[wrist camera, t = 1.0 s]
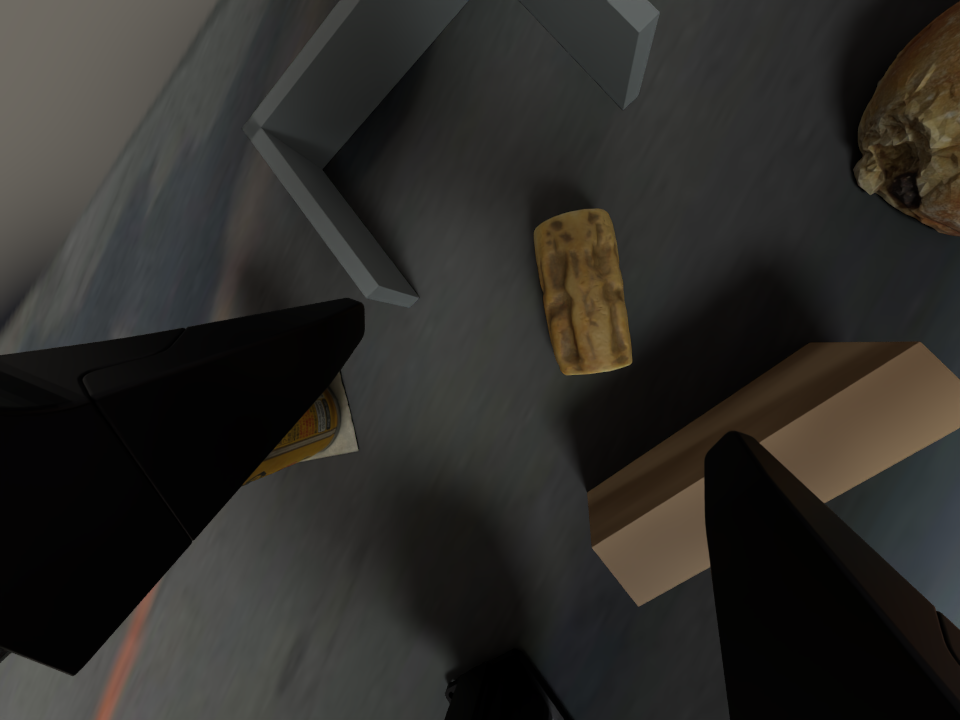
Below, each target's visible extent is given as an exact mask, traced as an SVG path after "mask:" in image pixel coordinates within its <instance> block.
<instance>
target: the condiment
mask: <svg viewBox="0 0 960 720" xmlns="http://www.w3.org/2000/svg"><path fill="white" fill-rule="evenodd" d="M355 451H358V447H357V442H356V437H355V432H354V427H353V423H352V421H351V414H350V410H349V406H348V401H347V398H346V395H345V390H344V388H343V385H342V382H341V375H340V372H339V373H338V375H337V376H336V377H335V379H334V380H333V381H332V383H331V384H330V385H329V386H328V387H327V389H326V390H325V391H324V392H323V393H322V394H321V396H320V397H319V398H318V399H317V400H316V401H315V402H314V404H313V405H312V406H311V407H310V408H309V409H308V410H307V412H306V413H305V414H304V415H303V416H302V417H301V418H300V420H299V421H298V422H297V423H296V424H295V425H294V426H293V428H292V429H291V430H290V431H289V432H288V433H287V434H286V436H285V437H284V438H283V439H282V440H281V441H280V442H279V444H278V445H277V446H276V447H275V448H274V449H273V451H272V452H271V453H270V454H269V455H268V456H267V457H266V459H265V460H264V461H263V462H262V463H261V464H260V465H259V467H258V468H257V469H256V470H255V471H254V472H253V473H252V475H251V476H250V477H249V478H248V479H247V480H246V481H245V483H244V484H243V485H242V486H244V485H246V484H248V483H250V482H252V481H255V480H257V479H259V478H262V477H264V476H267V475H269V474H272V473H274V472H277V471H279V470H281V469H283V468H285V467H288V466H291V465H293V464H295V463H298V462H302V461H307V460H312V459H317V458H323V457H328V456H333V455H339V454H344V453H350V452H355Z"/></svg>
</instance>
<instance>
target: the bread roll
mask: <svg viewBox="0 0 960 720" xmlns="http://www.w3.org/2000/svg"><path fill="white" fill-rule="evenodd" d="M858 145H859V149H860V151H861V152H862V154H863V157H862V158H861V159H860V160H859V161H858V162H857V164H856V165H855V167H854V169H853V171H854V175H855V178H856V180H857V183H858V186H860V187H861V188H863V189H864V190H865V191H866V192H867V193H868V194H870V195H871V194H873V193H877V194H878V195H880V196H881V197H883V198H884V200H885V201H887V202H888V203H889V204H891V205H892V206H893V207H895V208H896V209H898V210H900V211H901V212H903V213H905V214H907V215H909V216H911V217H914V218H916V219H917V220H918V221H920V222H921V223H923V224H926V225H928V226H930V227H932V228H934V229H935V230H937V231H938V232H940V233H944V234H948V235H952V236H960V1H959V2H957V3H956V4H955V5H953V6H952V7H950V8H949V9H947V10H946V11H945V12H943V13H942V14H941V15H939V16H938V17H937V18H935V19H934V20H933V21H932V22H931V23H930V24H928V25H927V26H926V27H925V28H924V29H923V30H922V31H920V32H919V33H918V34H917V35H916V36H915V37H914V38H913V39H912V40H911V41H910V42H909V43H908V44H907V45H906V46H905V47H904V49H903V50H902V51H900V52H899V54H898V55H897V57H896V59H895V60H894V61H893V63H892V64H891V65H890V67H889V68H888V70H887V71H886V73H885V75H884V77H883V78H882V79H881V80H880V81H879V82H878V83H877V88H876V91H875V93H874V95H873V97H872V99H871V100H870V102H869V103H868V105H867V107H866V109H865V111H864V113H863V115H862V118H861V121H860V124H859V127H858Z"/></svg>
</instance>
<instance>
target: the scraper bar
mask: <svg viewBox="0 0 960 720" xmlns="http://www.w3.org/2000/svg"><path fill="white" fill-rule="evenodd" d="M958 428H960V379H958V378H957V377H956V376H955V375H954V374H953V373H952V372H951V371H950V370H949V369H948V368H947V367H946V366H945V365H944V364H943V363H942V362H941V361H940V360H939V359H938V358H937V357H936V356H935V355H934V354H932V353H931V352H930V351H929V350H928V349H927V348H926V347H925V346H924V345H923V344H922V343H921V342H813V343H808V344H807V345H805V346H804V347H802V348H801V349H799V350H798V351H796V352H795V353H793V354H792V355H790V356H789V357H787V358H786V359H785V360H783V361H782V362H780V363H779V364H777V365H776V366H774V367H773V368H771V369H770V370H768V371H767V372H765V373H764V374H762V375H761V376H759V377H758V378H756V379H755V380H753V381H752V382H750V383H749V384H747V385H746V386H744V387H743V388H742V389H740V390H739V391H737V392H736V393H734V394H733V395H731V396H730V397H728V398H727V399H725V400H724V401H722V402H721V403H719V404H718V405H716V406H715V407H713V408H712V409H710V410H709V411H707V412H706V413H704V414H703V415H701V416H700V417H699V418H697V419H696V420H694V421H693V422H691V423H690V424H688V425H687V426H685V427H684V428H682V429H681V430H679V431H678V432H676V433H675V434H673V435H672V436H670V437H669V438H667V439H666V440H664V441H663V442H661V443H660V444H658V445H657V446H656V447H654V448H653V449H651V450H650V451H648V452H647V453H645V454H644V455H642V456H641V457H639V458H638V459H636V460H635V461H633V462H632V463H630V464H629V465H627V466H626V467H624V468H623V469H621V470H620V471H618V472H617V473H615V474H614V475H613V476H611V477H610V478H608V479H607V480H605V481H604V482H602V483H601V484H599V485H598V486H596V487H595V488H593V489H592V490H590V491H589V492H587V496H588V507H589V519H590V531H591V543H592V548H593V550H594V551H595V552H596V553H597V555H598V556H599V557H600V558H601V560H602V561H603V562H604V564H605V565H606V566H607V567H608V569H609V570H610V571H611V572H612V574H613V575H614V576H615V577H616V579H617V580H618V581H619V583H620V584H621V585H622V586H623V588H624V589H625V590H626V591H627V593H628V594H629V595H630V597H631V598H632V599H633V600H634V602H635V603H636V604H637V605H638V607H639V606H641V605H642V604H644V603H646V602H648V601H650V600H651V599H653V598H655V597H657V596H659V595H660V594H662V593H664V592H666V591H668V590H669V589H671V588H673V587H675V586H677V585H678V584H680V583H682V582H684V581H686V580H687V579H689V578H691V577H693V576H694V575H696V574H698V573H700V572H702V571H703V570H705V569H707V568H709V567H710V560H709V552H708V544H707V536H706V527H705V505H704V459H705V456H706V453H707V452H708V450H709V449H710V448H711V447H712V446H713V445H714V444H715V443H716V442H717V441H718V440H719V439H720V438H721V437H722V436H723V435H724V434H725V433H727V432H728V431H731V430H735V431H738V432H741V433H744V434H747V435H750V436H752V437H754V438H755V439H756V440H757V441H758V442H759V443H760V444H761V445H762V446H763V447H764V448H766V449H767V450H768V451H769V452H770V453H771V454H772V455H773V456H774V457H775V458H776V459H777V460H778V461H779V462H780V463H782V464H783V465H784V466H785V467H786V468H787V469H788V470H789V471H790V472H791V473H792V474H793V475H794V476H795V477H797V478H798V479H799V480H800V481H801V482H802V483H803V484H804V485H805V486H806V487H807V488H808V489H809V490H810V491H812V492H813V493H814V494H815V495H816V496H817V497H818V498H819V499H820V500H821V501H822V502H823V503H826V502H827V501H829V500H831V499H833V498H835V497H836V496H838V495H840V494H842V493H844V492H845V491H847V490H849V489H851V488H853V487H854V486H856V485H858V484H860V483H862V482H863V481H865V480H867V479H869V478H870V477H872V476H874V475H876V474H878V473H879V472H881V471H883V470H885V469H887V468H888V467H890V466H892V465H894V464H896V463H897V462H899V461H901V460H903V459H905V458H906V457H908V456H910V455H912V454H914V453H915V452H917V451H919V450H921V449H923V448H924V447H926V446H928V445H930V444H932V443H933V442H935V441H937V440H939V439H941V438H942V437H944V436H946V435H948V434H950V433H951V432H953V431H955V430H957V429H958Z"/></svg>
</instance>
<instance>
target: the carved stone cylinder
mask: <svg viewBox="0 0 960 720" xmlns="http://www.w3.org/2000/svg"><path fill="white" fill-rule="evenodd" d="M534 245H535V254H536V260H537V267H538V273H539V279H540V284H541V288H542V290H543V293H544V295H543V303H544V309H545V314H546V319H547V324H548V329H549V334H550V338H551V343H552V346H553V350H554V355H555V358H556V361H557V363H558V364H559V367H560V370H561V371H562V373H563V374H565V375H580V374H593V373H600V372H607V371H612V370H616V369H619V368H623V367H625V366H628V365H630V364H631V363H632V347H631V339H630V333H629V327H628V316H627V311H626V306H625V302H624V292H623V280H622V275H621V271H620V269H619V257H618V249H617V242H616V238H615V232H614V229H613V224H612V221H611V218H610V216H609V214H608V213H607V212H606V211H605V210H603V209H598V208H596V209H582V210H577V211H571V212H567V213H564V214H561V215H558V216H555V217H553V218H550V219H548V220H546V221H544V222H543V223H541V224H540V225H539V226H538V227H536V229H535V231H534Z"/></svg>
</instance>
